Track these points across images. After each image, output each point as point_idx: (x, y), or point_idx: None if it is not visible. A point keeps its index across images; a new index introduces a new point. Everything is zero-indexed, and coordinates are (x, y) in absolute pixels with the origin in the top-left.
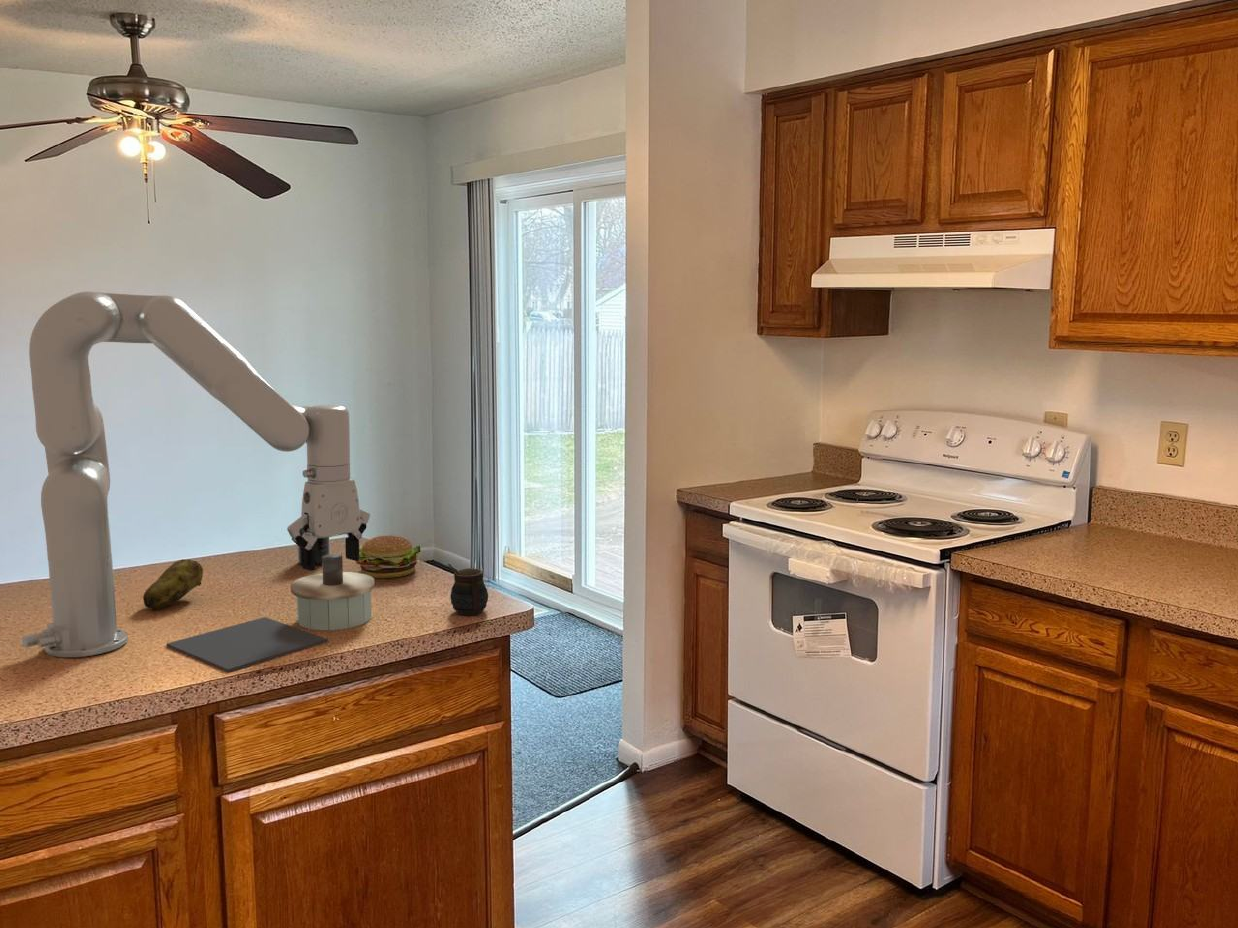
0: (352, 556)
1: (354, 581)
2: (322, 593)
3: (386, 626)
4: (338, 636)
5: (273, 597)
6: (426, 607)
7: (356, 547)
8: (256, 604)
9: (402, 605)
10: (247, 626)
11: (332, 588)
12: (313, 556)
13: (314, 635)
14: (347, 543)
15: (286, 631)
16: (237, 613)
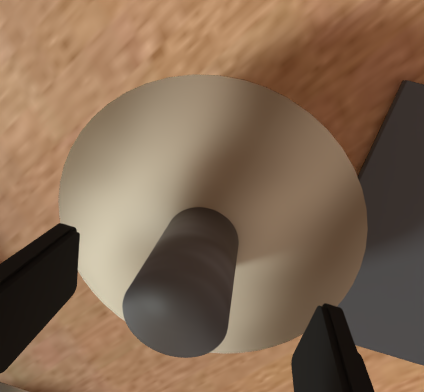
0: (68, 258)
1: (148, 180)
2: (346, 193)
3: (206, 5)
4: (345, 83)
5: (163, 373)
6: (8, 15)
7: (22, 265)
8: (213, 378)
9: (40, 97)
10: (365, 322)
11: (266, 200)
12: (352, 370)
13: (386, 139)
14: (21, 338)
15: (375, 227)
16: (276, 380)
